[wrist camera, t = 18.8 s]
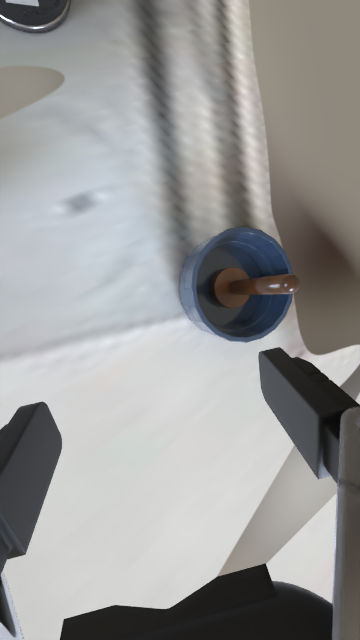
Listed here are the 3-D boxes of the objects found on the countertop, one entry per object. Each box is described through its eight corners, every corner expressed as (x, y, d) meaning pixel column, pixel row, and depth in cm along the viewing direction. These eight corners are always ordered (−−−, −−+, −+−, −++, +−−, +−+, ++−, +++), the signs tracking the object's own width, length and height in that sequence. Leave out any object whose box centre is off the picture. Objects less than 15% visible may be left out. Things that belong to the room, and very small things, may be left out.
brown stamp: (201, 280, 35) (259, 271, 22) (233, 261, 36) (306, 242, 23) (219, 314, 36) (284, 324, 23) (249, 295, 37) (328, 294, 24)
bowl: (159, 266, 34) (170, 261, 29) (242, 220, 37) (266, 207, 31) (207, 353, 37) (225, 363, 31) (281, 304, 39) (309, 306, 34)
